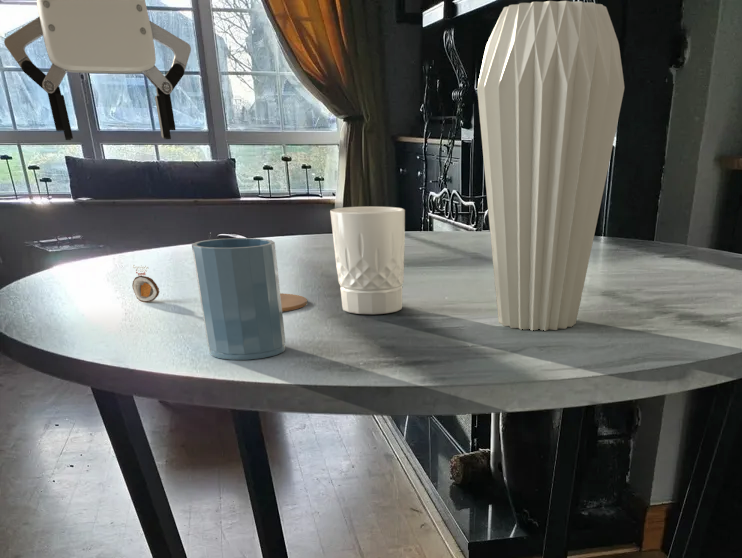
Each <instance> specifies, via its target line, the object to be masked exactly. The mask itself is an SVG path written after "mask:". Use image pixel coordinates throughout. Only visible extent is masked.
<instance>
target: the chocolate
mask: <svg viewBox="0 0 742 558" xmlns="http://www.w3.org/2000/svg"><path fill="white" fill-rule="evenodd" d="M132 268H133V269H135V274H137V276H136V277H135V278H134V279H133V281H132V290H133V293H134V296H135V297H136V299H137V300H138V301H140V302H142V303H150V302H153V301H155V300H156V299H157V298H158V297H159V295H160V287H159V286H158V285H157V283H156V282H155V280H153V278H151V277H149V276H146V272H147V271H148V269H149V266H147V265H145V266H135V264H132Z"/></svg>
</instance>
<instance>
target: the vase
mask: <svg viewBox="0 0 742 558" xmlns="http://www.w3.org/2000/svg"><path fill="white" fill-rule="evenodd" d="M620 49H621V48H620V43H619V40H618V37H617V34H616V32H615V28H614V25H613V22H612V20H611V16H610V14H609V11H608V8H607V6H605V5H603V4H601V3H595V2H584V1H582V0H579V1H578V0H577V1H569V0H560V1H557V0H547V1H531V2H519V3H517V4H509V5H508V6H504V7H503V8H502V11H501V12H500V14H499V17H498V19H497V21H496V24H495V25H494V27H493V29H492V31H491V34H490V36H489V37H488V41H487V42H486V45H485V49H484V53H483V58H482V63H481V67H480V73H479V78H478V81H477V86H476V87H477V88H476V89H477V100H478V101H477V102H478V113H479V114H478V115H479V124H480V137H481V146H482V156H483V157H482V158H483V168H484V180H485V190H486V200H487V213H488V225H489V233H490V235H489V236H490V245H491V257H492V268H493V278H494V289H495V299H496V309H497V320H498V321H497V322H498V324H501V325H502V327H509V328H510V329H519V330H520V331H524V330H529V329H530V331H532V332H534V331H543V330H544V332H547V331H548V330H551V331H552V330H553V331H557V330H558V329H563V330H564V329H565V330H566V329H567V328H568V327H569V328H570V327H571V328H573V327H574V325H576V324H577V320H578V315H579V310H580V306H581V302H582V301H581V300H582V297H583V293H584V287H585V282H586V277H587V273H588V268H589V262H590V259H591V258H590V257H591V253H592V248H593V243H594V239H595V233H596V228H597V224H598V219H599V214H600V209H601V204H602V200H603V194H604V190H605V186H606V180H607V176H608V171H609V167H610V161H611V157H612V151H613V146H614V141H615V136H616V132H617V127H618V124H619V123H618V122H619V117H620V113H621V108H622V102H623V99H624V98H623V97H624V93H625V81H624V80H625V79H624V73H623V64H622V58H621V50H620ZM572 326H573V327H572ZM522 329H523V330H522ZM538 329H540V330H538ZM533 330H534V331H533Z"/></svg>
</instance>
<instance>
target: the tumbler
mask: <svg viewBox="0 0 742 558" xmlns="http://www.w3.org/2000/svg"><path fill="white" fill-rule="evenodd" d="M191 249H192V255H193V261H194V262H193V263H194V267H195V268H194V269H195V274H196V280H197V287H198V292H199V299H200V306H201V313H202V318H203V324H204V331H205V338H206V343H207V344H206V345H207V347H208V352H209V355H211V356H212V357H214V358H217V359H221V360H228V361H229V360H232V361H247V360H250V361H251V360H259V359H265V358H271V357H274V356H277V355H280V354H283V353H284V352H285V351H286V333H285V326H284V317H283V312H282V306H281V296H280V293H281V287H280V279H279V270H278V261H277V250H276V242H275V241H274V240H271V239H266V238H255V237H253V238H251V237H233V238H232V237H231V238H229V237H228V238H216V239H207V240H200V241H196V242H194V243H191Z"/></svg>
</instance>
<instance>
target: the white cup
mask: <svg viewBox="0 0 742 558" xmlns="http://www.w3.org/2000/svg"><path fill="white" fill-rule="evenodd" d="M329 213H330V222H331V223H330V224H331V230H332V241H333V249H334V257H335V266H336V273H337V282H338V284H339V286H340V287H339V289H340V298H341V307H342V310H343V311H344V312H347V313H349V314H350V313H351V314H357V315H383V314H384V315H385V314H393V313H396V312H399V311H400V310H402V309H403V288H404V286H403V284H404V282H405V279H404V278H405V277H404V275H405V250H406V209H405V208H402V207H395V206H345V207H336V208H332V209H330V211H329Z"/></svg>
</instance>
